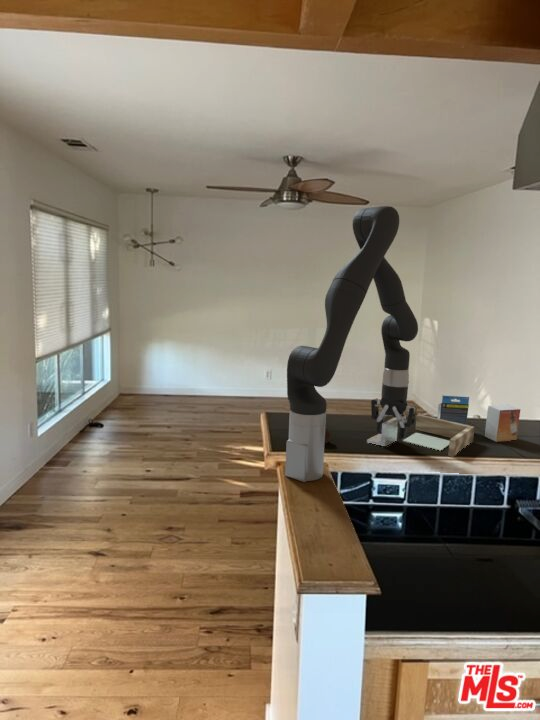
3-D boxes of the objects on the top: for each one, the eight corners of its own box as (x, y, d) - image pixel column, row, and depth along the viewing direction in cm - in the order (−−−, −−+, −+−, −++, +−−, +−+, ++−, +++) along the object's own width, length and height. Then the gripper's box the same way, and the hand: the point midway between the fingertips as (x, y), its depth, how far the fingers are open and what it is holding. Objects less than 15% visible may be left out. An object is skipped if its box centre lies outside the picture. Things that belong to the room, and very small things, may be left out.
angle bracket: (384, 448, 151) (386, 424, 150) (366, 443, 155) (368, 419, 154) (396, 441, 158) (398, 418, 156) (379, 436, 161) (380, 414, 160)
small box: (495, 442, 159) (499, 410, 157) (483, 436, 164) (487, 405, 162) (517, 440, 161) (521, 409, 159) (504, 435, 166) (508, 404, 164)
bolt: (314, 433, 168) (324, 448, 153) (301, 426, 167) (310, 440, 153) (323, 418, 168) (334, 432, 153) (310, 411, 167) (320, 424, 152)
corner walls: (452, 457, 146) (454, 440, 145) (393, 441, 157) (395, 426, 156) (472, 441, 159) (474, 426, 158) (417, 428, 170) (418, 414, 169)
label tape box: (462, 428, 171) (466, 393, 169) (465, 432, 167) (469, 396, 165) (435, 427, 172) (439, 392, 170) (438, 431, 168) (442, 395, 166)
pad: (440, 451, 150) (440, 450, 150) (402, 441, 157) (402, 440, 157) (452, 442, 157) (452, 441, 157) (416, 433, 165) (416, 432, 165)
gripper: (367, 380, 152) (364, 433, 156) (412, 389, 144) (407, 445, 147) (379, 376, 158) (375, 427, 161) (423, 384, 149) (418, 438, 152)
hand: (391, 435), depth 154 cm, fingers open, 6 cm apart
